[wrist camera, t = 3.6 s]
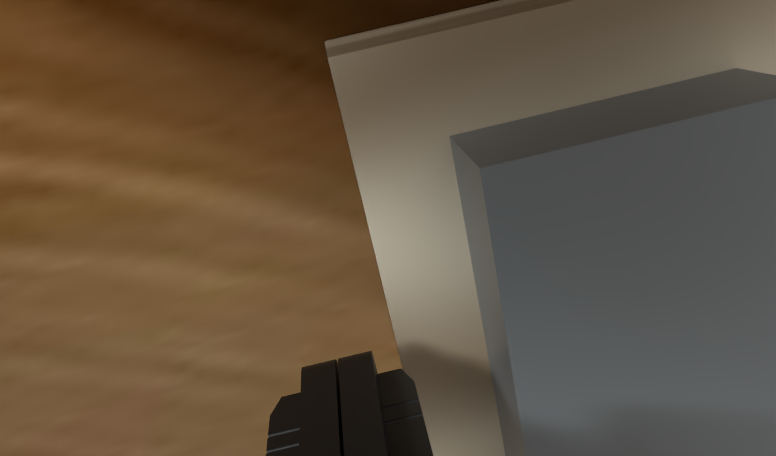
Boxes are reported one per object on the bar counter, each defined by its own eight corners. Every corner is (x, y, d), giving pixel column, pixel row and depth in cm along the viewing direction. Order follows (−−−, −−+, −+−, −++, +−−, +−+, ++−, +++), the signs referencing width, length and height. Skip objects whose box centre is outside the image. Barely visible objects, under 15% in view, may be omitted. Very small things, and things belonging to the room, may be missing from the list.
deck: (324, 41, 15) (327, 57, 11) (823, -75, 15) (985, -96, 12) (421, 444, 20) (446, 546, 16) (798, 349, 20) (906, 429, 17)
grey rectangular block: (449, 136, 12) (479, 168, 10) (736, 68, 12) (829, 84, 10) (508, 473, 16) (541, 553, 13) (732, 416, 16) (801, 486, 14)
